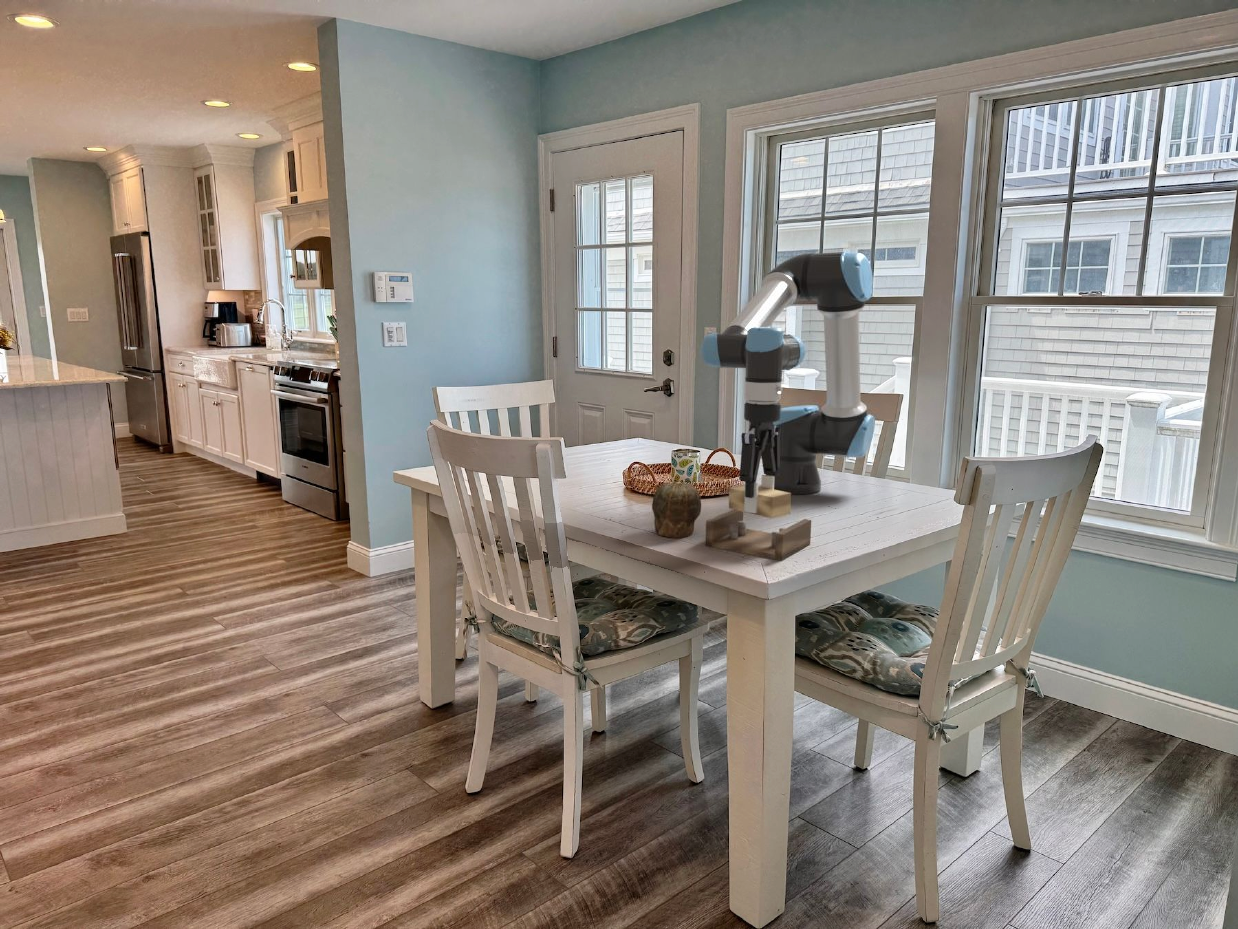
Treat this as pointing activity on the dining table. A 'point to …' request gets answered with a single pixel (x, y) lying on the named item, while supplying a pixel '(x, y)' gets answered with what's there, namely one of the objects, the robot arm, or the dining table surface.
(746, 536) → the peg frame
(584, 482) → the dining table surface
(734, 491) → the light wooden block
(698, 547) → the dining table surface
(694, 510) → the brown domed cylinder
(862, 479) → the dining table surface
